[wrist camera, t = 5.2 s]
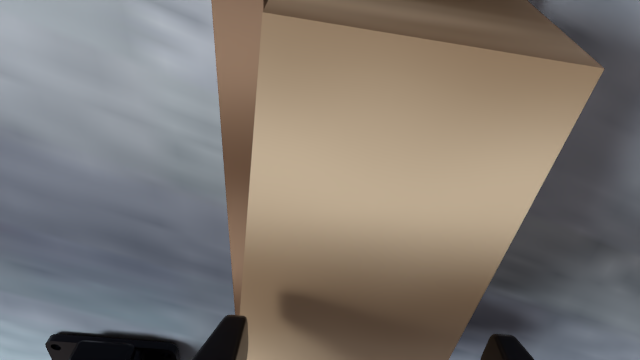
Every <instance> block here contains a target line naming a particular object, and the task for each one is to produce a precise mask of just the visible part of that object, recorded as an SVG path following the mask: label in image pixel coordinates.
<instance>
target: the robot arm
mask: <svg viewBox="0 0 640 360" xmlns="http://www.w3.org/2000/svg"><path fill="white" fill-rule="evenodd" d="M45 345H46V348H47V350H48V352H49V354H50V356H51V358H52V360H180V355H179V350H178V348H177V346H176V345H174V344H172V343H168V342H156V341H142V340H129V339H115V338H101V337H88V336H74V335H61V334H53V335H51V336H50V337H49V339H48V341H47V343H46V344H45ZM247 354H248V322H247V318H246V317H245V316H240V315H227V316H225V317H224V318H223V320H222V321H221V322H220V324H219V325H218V326H217V328H216V329H215V330H214V332H213V333H212V334H211V336H210V337H209V338H208V339H207V341H206V342H205V343H204V345H203V346H202V347H201V349H200V350H199V351H198V353H197V354H196V355H195V357H194V358H193V359H192V360H247ZM481 360H534V359H533V357H532V356H531V355H530V354H529V353H528V351H527V350H526V349H525V348H524V347H523V346H522V344H521V343H520V342H519V341H518V340H517V339H516V338H515V337H514V336H512V335H505V334H493V335H491V337H490V338H489V340H488V343H487V345H486V347H485V350H484V352H483V354H482V357H481Z"/></svg>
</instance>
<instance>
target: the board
mask: <svg viewBox="0 0 640 360" xmlns="http://www.w3.org/2000/svg"><path fill="white" fill-rule="evenodd" d="M603 70H604V68H603V67H602V66H601V65H600V64H599V63H598V62H596V61H595V60H594V59H593V58H592V57H591V56H590V55H589V54H587V53H586V52H585V51H584V50H583V49H582V48H581V47H579V46H578V45H577V44H576V43H575V42H574V41H573V40H571V39H570V38H569V37H568V36H567V35H566V34H565V33H564V32H562V31H561V30H560V29H559V28H558V27H557V26H556V25H554V24H553V23H552V22H551V21H550V20H549V19H548V18H546V17H545V16H544V15H543V14H542V13H541V12H540V11H538V10H537V9H536V8H535V7H534V6H533V5H532V4H531V3H529V2H528V1H527V0H268V2H267V4H266V6H265V8H264V10H263V12H262V25H261V38H260V52H259V65H258V78H257V91H256V105H255V118H254V131H253V144H252V158H251V171H250V184H249V197H248V211H247V224H246V237H245V251H244V264H243V277H242V290H241V304H240V316H245V317H246V318H247V322H248V354H247V360H449V358H450V356H451V354H452V352H453V350H454V348H455V347H456V345H457V343H458V341H459V339H460V337H461V335H462V334H463V332H464V330H465V328H466V326H467V324H468V322H469V320H470V319H471V317H472V315H473V313H474V311H475V309H476V307H477V306H478V304H479V302H480V300H481V298H482V296H483V294H484V292H485V291H486V289H487V287H488V285H489V283H490V281H491V279H492V278H493V276H494V274H495V272H496V270H497V268H498V266H499V264H500V263H501V261H502V259H503V257H504V255H505V253H506V251H507V250H508V248H509V246H510V244H511V242H512V240H513V238H514V236H515V235H516V233H517V231H518V229H519V227H520V225H521V223H522V222H523V220H524V218H525V216H526V214H527V212H528V210H529V209H530V207H531V205H532V203H533V201H534V199H535V197H536V195H537V194H538V192H539V190H540V188H541V186H542V184H543V182H544V181H545V179H546V177H547V175H548V173H549V171H550V169H551V167H552V166H553V164H554V162H555V160H556V158H557V156H558V154H559V153H560V151H561V149H562V147H563V145H564V143H565V141H566V139H567V138H568V136H569V134H570V132H571V130H572V128H573V126H574V125H575V123H576V121H577V119H578V117H579V115H580V113H581V112H582V110H583V108H584V106H585V104H586V102H587V100H588V98H589V97H590V95H591V93H592V91H593V89H594V87H595V85H596V84H597V82H598V80H599V78H600V76H601V74H602V72H603Z"/></svg>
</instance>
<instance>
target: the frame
mask: <svg viewBox="0 0 640 360" xmlns="http://www.w3.org/2000/svg"><path fill="white" fill-rule="evenodd" d="M211 1H212V14H213V27H214V40H215V53H216V67H217V80H218V93H219V106H220V119H221V133H222V146H223V159H224V172H225V185H226V198H227V212H228V225H229V238H230V251H231V264H232V277H233V291H234V304H235V315H240V304H241V290H242V277H243V264H244V251H245V237H246V224H247V211H248V197H249V184H250V171H251V158H252V144H253V131H254V118H255V105H256V91H257V78H258V65H259V52H260V38H261V25H262V12H263V10H264V8H265V6H266V4H267V2H268V0H211ZM527 1H528V0H527Z"/></svg>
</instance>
